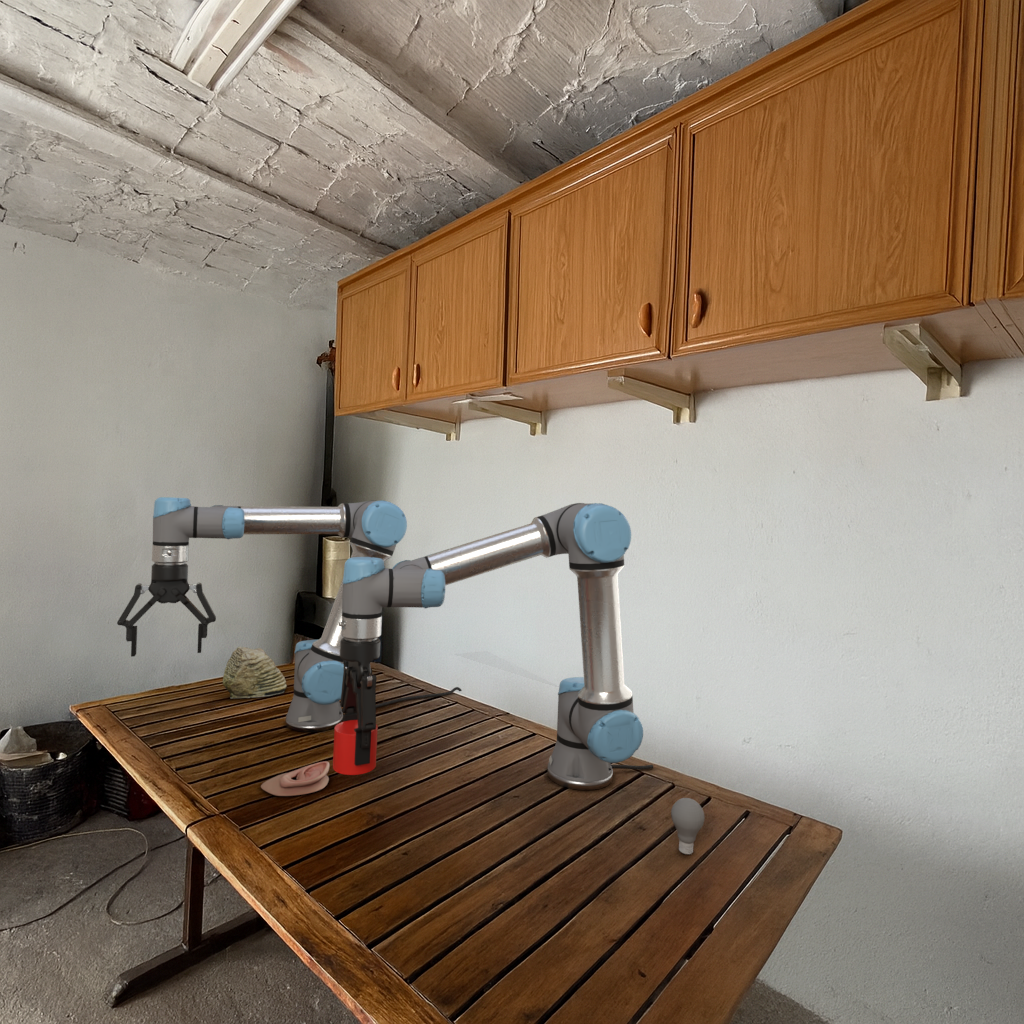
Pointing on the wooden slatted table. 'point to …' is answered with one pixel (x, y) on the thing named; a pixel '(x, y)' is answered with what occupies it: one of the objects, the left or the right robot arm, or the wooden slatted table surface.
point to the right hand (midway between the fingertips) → (355, 754)
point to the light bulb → (687, 822)
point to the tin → (351, 749)
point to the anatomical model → (299, 780)
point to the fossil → (252, 674)
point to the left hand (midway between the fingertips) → (167, 653)
